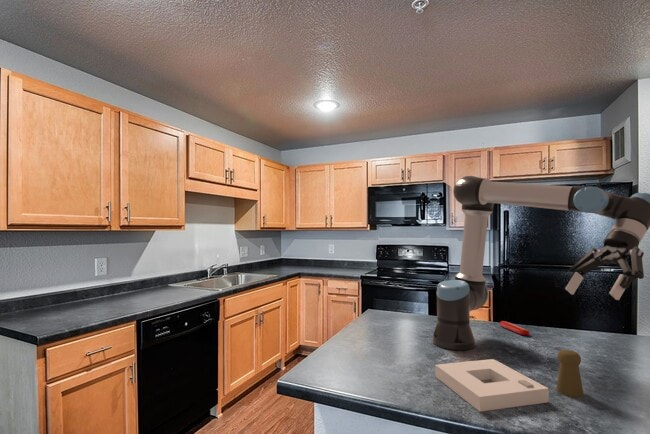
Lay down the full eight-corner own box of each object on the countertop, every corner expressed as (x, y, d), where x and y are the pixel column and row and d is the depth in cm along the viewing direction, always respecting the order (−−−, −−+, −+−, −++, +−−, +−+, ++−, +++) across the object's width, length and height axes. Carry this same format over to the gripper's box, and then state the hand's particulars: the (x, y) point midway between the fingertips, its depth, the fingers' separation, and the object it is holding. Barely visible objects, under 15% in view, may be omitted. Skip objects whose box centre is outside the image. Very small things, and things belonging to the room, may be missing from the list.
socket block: (435, 376, 102) (435, 363, 103) (493, 370, 107) (493, 357, 107) (479, 411, 83) (479, 394, 83) (548, 402, 87) (548, 386, 87)
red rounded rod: (531, 337, 140) (531, 329, 140) (523, 337, 140) (523, 330, 140) (505, 326, 156) (505, 319, 156) (497, 326, 155) (497, 319, 156)
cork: (588, 398, 89) (587, 356, 89) (562, 396, 90) (561, 354, 91) (576, 388, 95) (575, 348, 95) (552, 386, 96) (551, 346, 97)
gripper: (683, 244, 90) (647, 308, 86) (593, 246, 114) (561, 297, 110) (663, 225, 90) (626, 289, 85) (577, 232, 114) (545, 282, 110)
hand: (589, 294), depth 98 cm, fingers open, 13 cm apart
